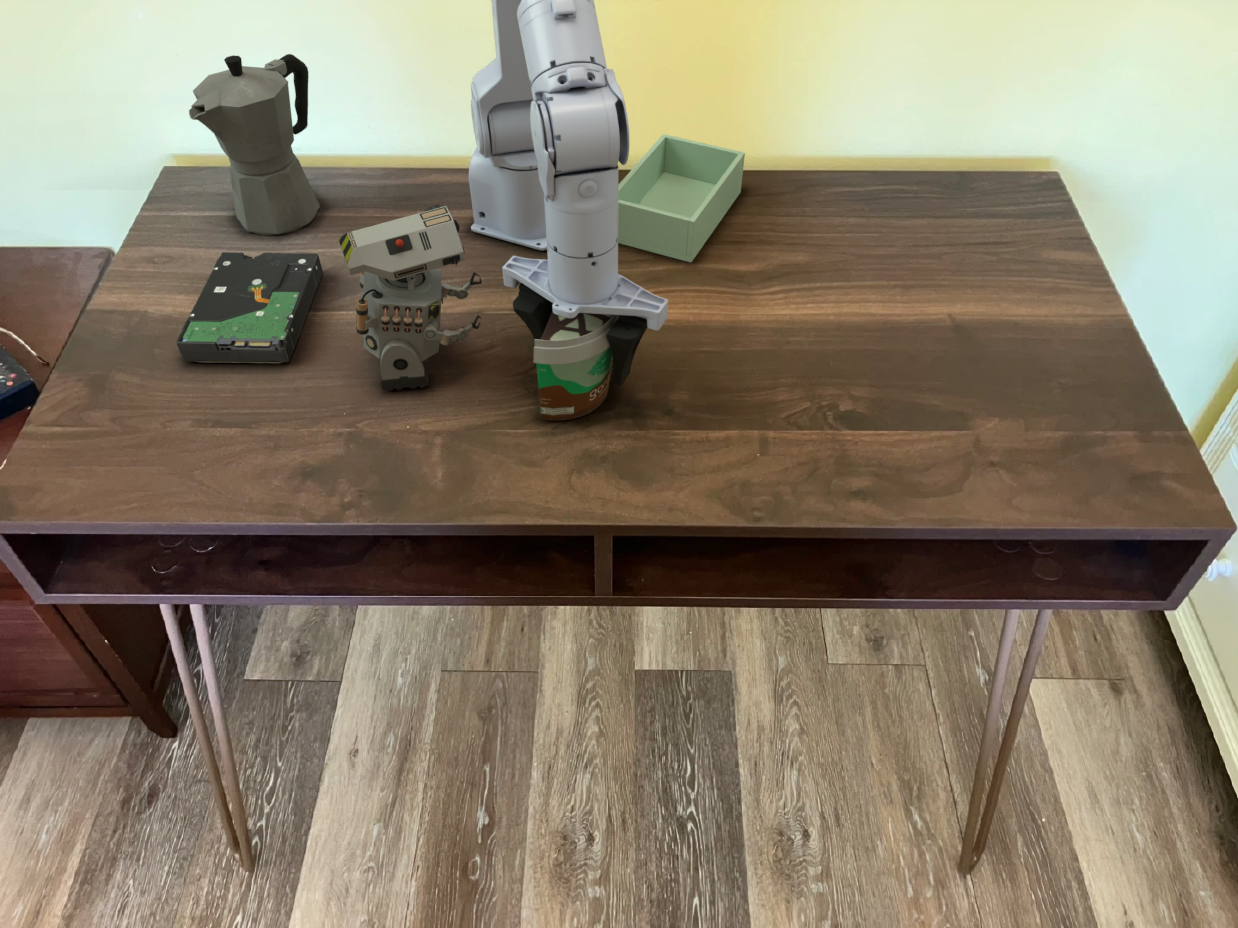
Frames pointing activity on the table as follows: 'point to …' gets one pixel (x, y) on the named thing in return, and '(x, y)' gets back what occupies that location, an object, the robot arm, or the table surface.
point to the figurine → (405, 291)
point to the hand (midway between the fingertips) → (586, 366)
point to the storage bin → (677, 196)
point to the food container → (573, 364)
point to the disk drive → (251, 308)
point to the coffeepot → (260, 141)
